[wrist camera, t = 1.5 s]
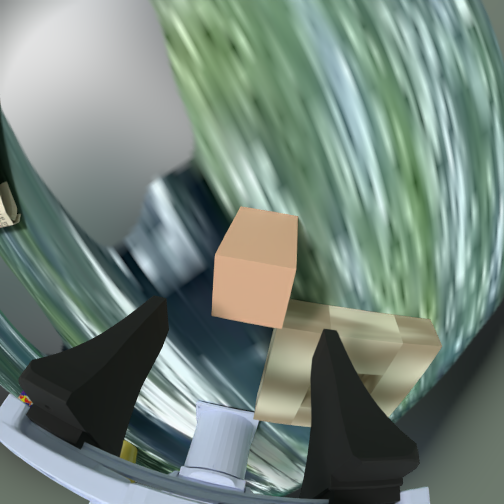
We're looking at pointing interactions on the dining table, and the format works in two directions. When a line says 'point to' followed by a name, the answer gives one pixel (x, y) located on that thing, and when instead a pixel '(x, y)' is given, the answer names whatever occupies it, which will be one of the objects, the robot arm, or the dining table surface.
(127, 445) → the plant pot
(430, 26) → the dining table surface
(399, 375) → the socket block
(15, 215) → the newspaper
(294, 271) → the peg
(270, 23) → the dining table surface
